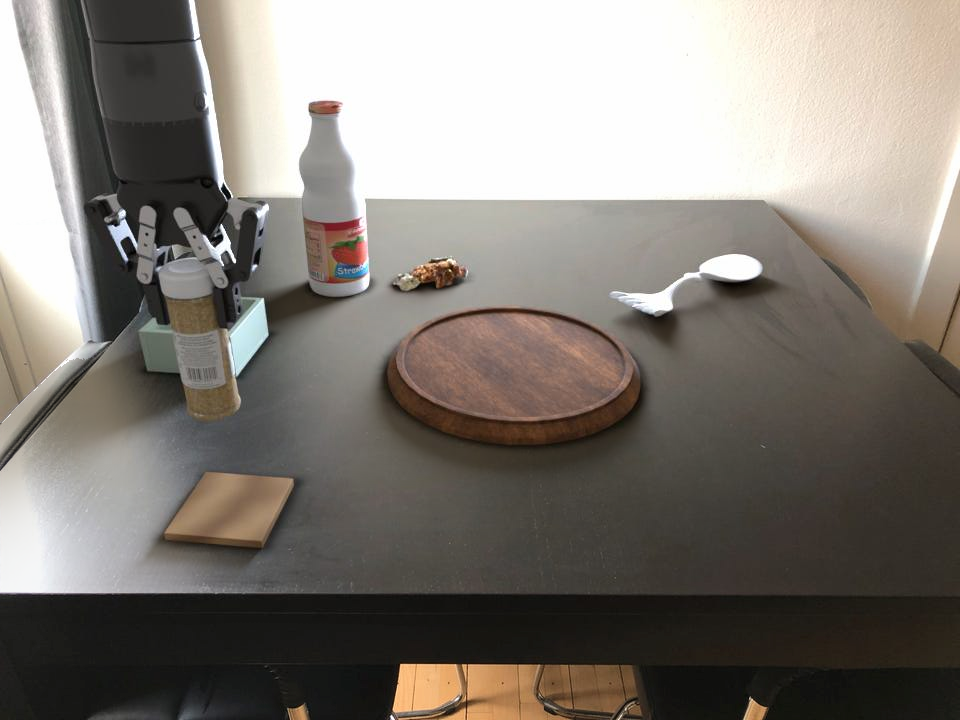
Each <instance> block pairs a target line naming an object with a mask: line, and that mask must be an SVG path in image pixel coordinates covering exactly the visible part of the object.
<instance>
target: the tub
mask: <svg viewBox="0 0 960 720" xmlns="http://www.w3.org/2000/svg"><path fill="white" fill-rule="evenodd" d="M241 300H242V307H243V312H242V315H241V316H240V317H239V319H238V320H237V321H236V323H235V324H234V325H233V326H232V327H231V328H230V329H227V331H228V337H229V341H230V344H231V349H232V355H233V360H234V367H235V378H237V377H238V376H239V375H240V374H241V372H242V370H243V369H244V368H245V367H246V365H247V364H248V363H249V361H250V360H251V359H252V357H253V356H254V355H255V354H256V352H257V351H258V349H260V348H261V346H262V344H263V343H264V342H265V340H266V339H267V338H268V337H269V328H268V321H267V313H266V307H265V299H264V297H254V296H253V297H252V296H241ZM137 333H138V337H139V340H140V346H141V350H142V354H143V357H144V363H145V367H146V371H147V372H155V373H156V372H158V373H159V372H160V373H173V374H180V370H179V365H178V360H177V355H176V350H175V346H174V341H173V336H172V331H171V323H170V324H169V325H158V324H157V322H156V318H152V317H151V319H149V320H148V322H146V324H144V325H143V326H142V327H141V328H140V329H139V330H138V331H137Z"/></svg>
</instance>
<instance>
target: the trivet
mask: <svg viewBox="0 0 960 720" xmlns="http://www.w3.org/2000/svg"><path fill="white" fill-rule="evenodd" d="M294 486H295V483H294V478H290V477H280V476H279V477H277V476H267V475H266V476H265V475H253V474H252V475H251V474H239V473H238V474H237V473H229V472H228V473H226V472H214V471H213V472H212V471H205V472H204V473H203V475H202V477H201V478H200V479H199V481H198V483H197V484H196V486H195V487H194V488H193V490H192V491H191V493H190V494H189V496H188V497H187V498H186V500H185V502H184V503H183V505H182V506H181V508H180V509H179V510H178V512H176V514H175V516H174V518H173V519H172V521H171V522H170V523H169V525H168V526H167V528H166V529H165V530H164V533H163V535H164V539H165V541H173V542H174V541H176V542H187V543H199V544H210V545H211V544H212V545H221V546H222V545H223V546H234V547H246V548H257V549H258V548H259V549H263V548H264V546H265V544H266V542H267V540H268V538H269V536H270V534H271V532H272V530H273V528H274V526H275V524H276V521H278V518H279V516H280V514H281V512H282V510H283V508H284V507H285V504H286V502H287V500H288V498H289V496H290V494H291V492H292V491H293V488H294Z"/></svg>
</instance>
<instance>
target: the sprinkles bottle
mask: <svg viewBox="0 0 960 720" xmlns="http://www.w3.org/2000/svg"><path fill="white" fill-rule="evenodd" d="M159 280H160V285H161V290H162V292H163V294H164V297H165V299H166V302H167V307H168V312H169V317H170V322H171V331H172V336H173V341H174V346H175V350H176V355H177V360H178V365H179V370H180V373H179V374H180V379H181V382H182V384H183V390H184V394H185V395H184V396H185V399H186V412H187V413H188V415H189V416H190V417H191V418H193V419H195V420H197V421H203V422H211V421H219V420H223V419H226V418H229V417H230V416H232V415H233V414H235V413H236V412H237V411H238V410H239V409H240V407H241V403H242V399H241V397H240V394H239V389H238V386H237V385H238V384H237V378H236V377H235V367H234V360H233V355H232V349H231V344H230V341H229V337H228V331H227V329H221V328H220V327H219V323H218V317H217V311H216V305H215V299H214V293H213V288H214V287H215V286H216V285H215V284H214V282H213V280H212V279H211V277H210V275H209V273H208V271H207V269H206V267H205V265H204V264H203V263H200V262H199V261H198V259H197V257H185V258H184V257H183V258H179V259H175V260H172V261H169V262H167V264H165V265H163V266H162V267H161V268H160V270H159Z"/></svg>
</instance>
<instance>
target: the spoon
mask: <svg viewBox="0 0 960 720" xmlns="http://www.w3.org/2000/svg"><path fill="white" fill-rule="evenodd" d="M763 269H764V268H763V264H762V263H761V262H760V261H759V260H758V259H756V258H754V257H752V256H749V255H745V254H725V255H721V256H717V257H714V258H711V259H708V260H707V261H705V262H704V263H702V264H701V265H700V266H699V271H698V272H686V273H685V274H684V275H683V277H681V278H680V279H678V280H677V281H675V282H674V283H673V284H670V286H669V287H667V288H666V289H665V290H664V289H663V291H661V292H658V293H652V294H648V293H647V294H646V293H625V292H621V291H612V292H610V293H609V298H610V299H616V301H618V302H619V303H623V304H624V305H625V306H629V307H632V308H633V309H634V310H636V311H641V312H642V313H645V314H648V315H653V317H657V318H658V317H661V316H662V315H665V314H666V313H668V312H670V311H672V310H673V309H674V305H673V300H674V298H675V296H676V294H677V293H678V292H679V291H680V290H681V288H683V287H685V286H687V285H689V284H693V283H702V282H703V280H704V279H709V280H714V281H719V282H724V283H743V282H747V281H751V280H752V279H755V278H757V277H758V276H760V275H761V273H762V272H763Z"/></svg>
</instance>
